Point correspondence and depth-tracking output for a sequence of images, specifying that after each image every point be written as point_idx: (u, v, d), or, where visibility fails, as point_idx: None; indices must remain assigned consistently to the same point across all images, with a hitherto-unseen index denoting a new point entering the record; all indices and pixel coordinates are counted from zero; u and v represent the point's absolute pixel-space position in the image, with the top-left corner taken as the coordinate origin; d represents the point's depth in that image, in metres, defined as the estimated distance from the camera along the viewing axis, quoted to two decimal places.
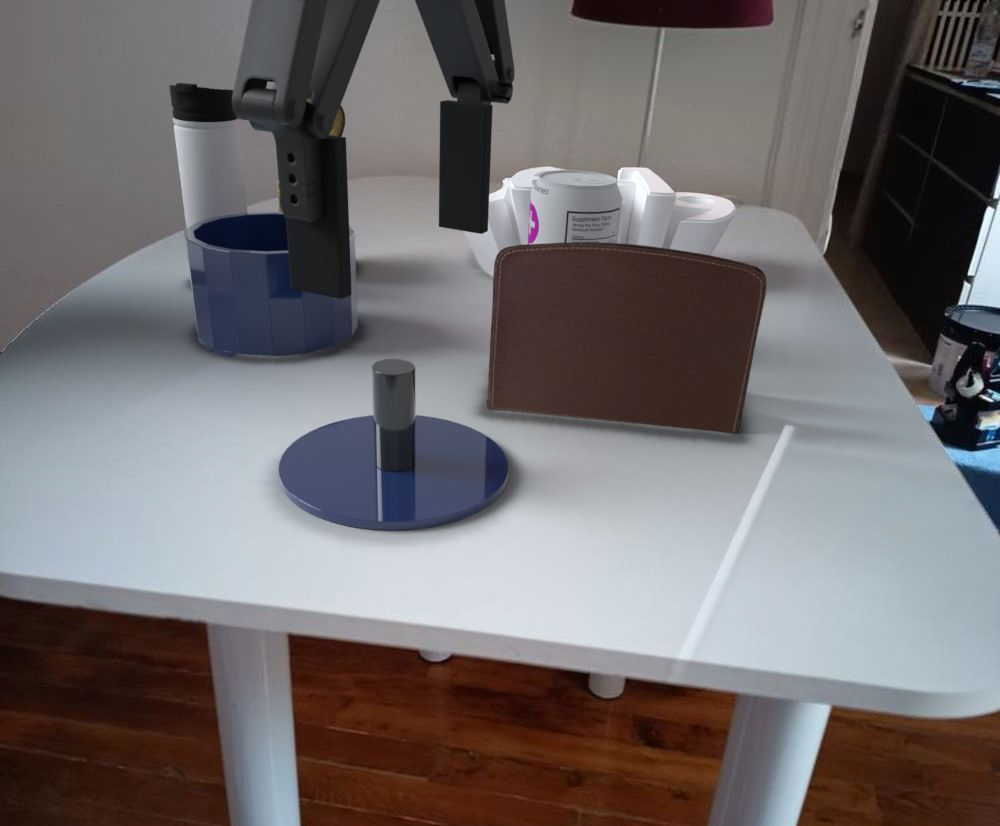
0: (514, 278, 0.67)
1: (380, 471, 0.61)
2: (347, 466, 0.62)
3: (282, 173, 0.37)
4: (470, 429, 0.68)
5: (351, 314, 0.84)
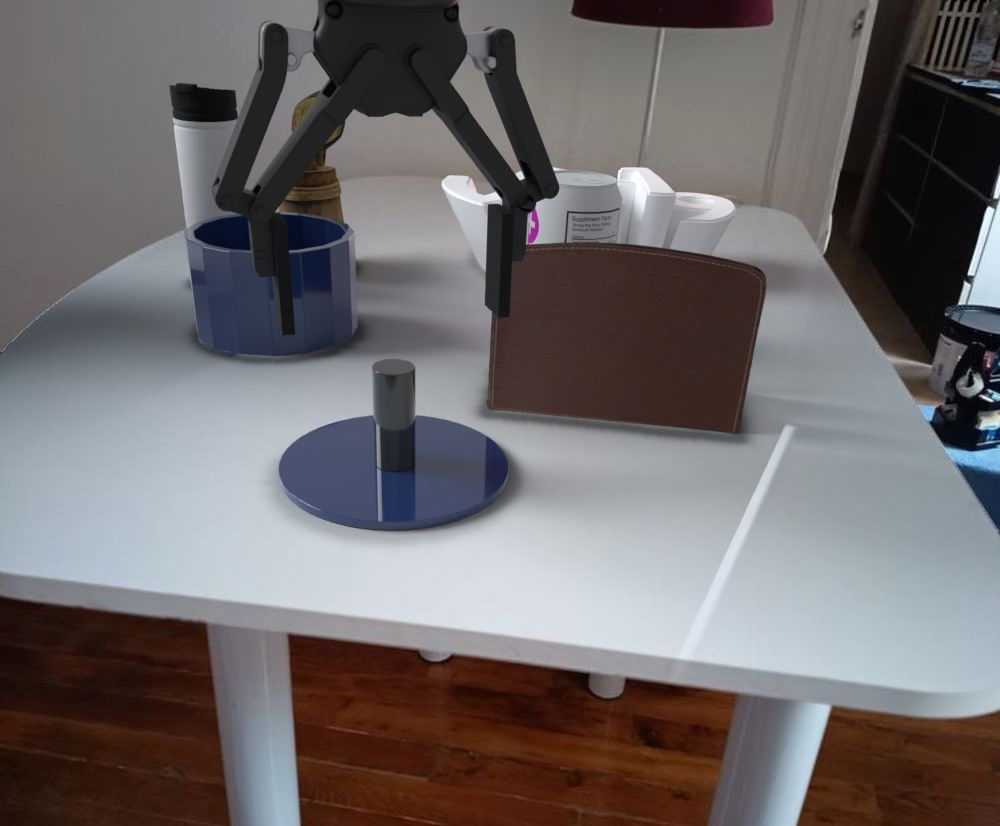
0: (514, 278, 0.67)
1: (380, 471, 0.61)
2: (347, 466, 0.62)
3: (250, 240, 0.53)
4: (470, 429, 0.68)
5: (351, 314, 0.84)
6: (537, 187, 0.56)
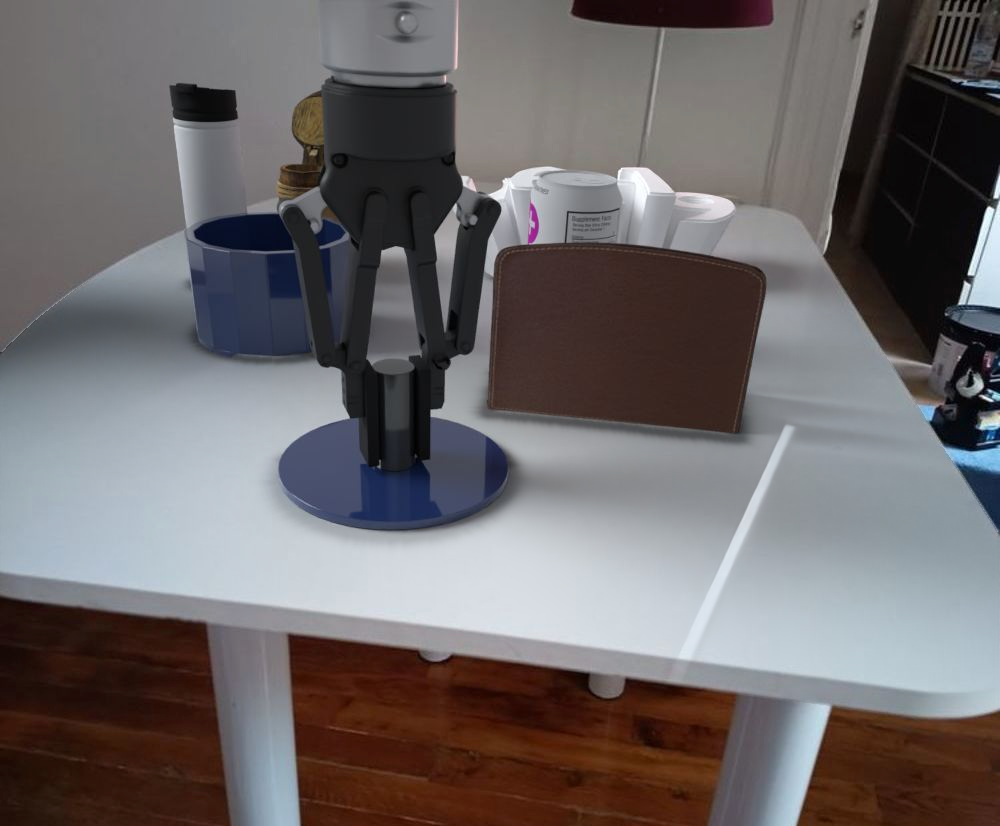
0: (514, 278, 0.67)
1: (380, 471, 0.61)
2: (347, 466, 0.62)
3: (342, 386, 0.59)
4: (470, 429, 0.68)
5: None
6: (453, 344, 0.59)
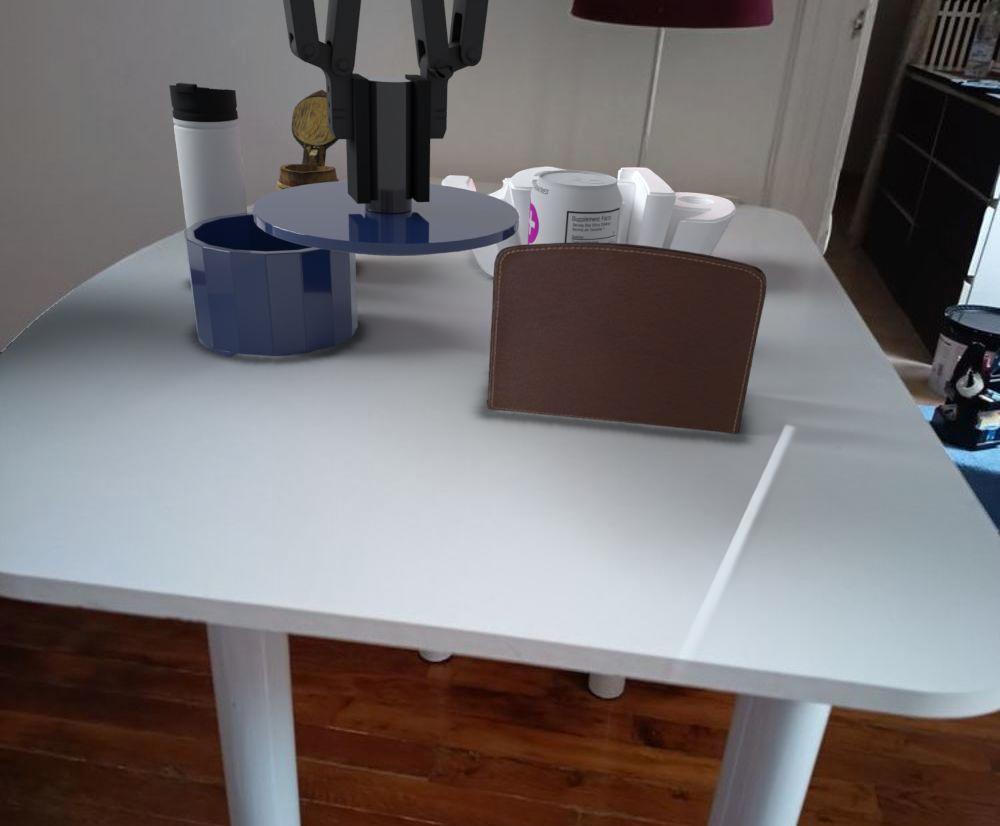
0: (514, 278, 0.67)
1: (371, 212, 0.53)
2: (333, 208, 0.53)
3: (327, 101, 0.51)
4: (475, 192, 0.59)
5: (351, 314, 0.84)
6: (457, 52, 0.50)
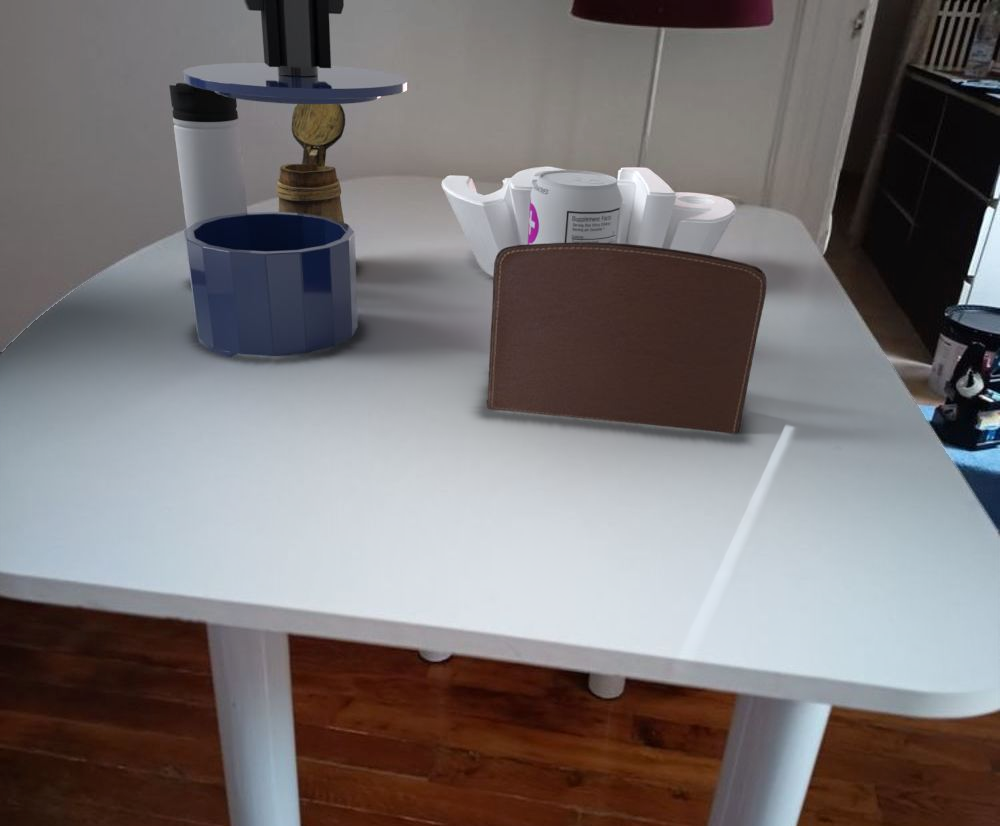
0: (514, 278, 0.67)
1: (281, 75, 0.64)
2: (250, 73, 0.64)
3: None
4: (378, 71, 0.70)
5: (351, 314, 0.84)
6: None
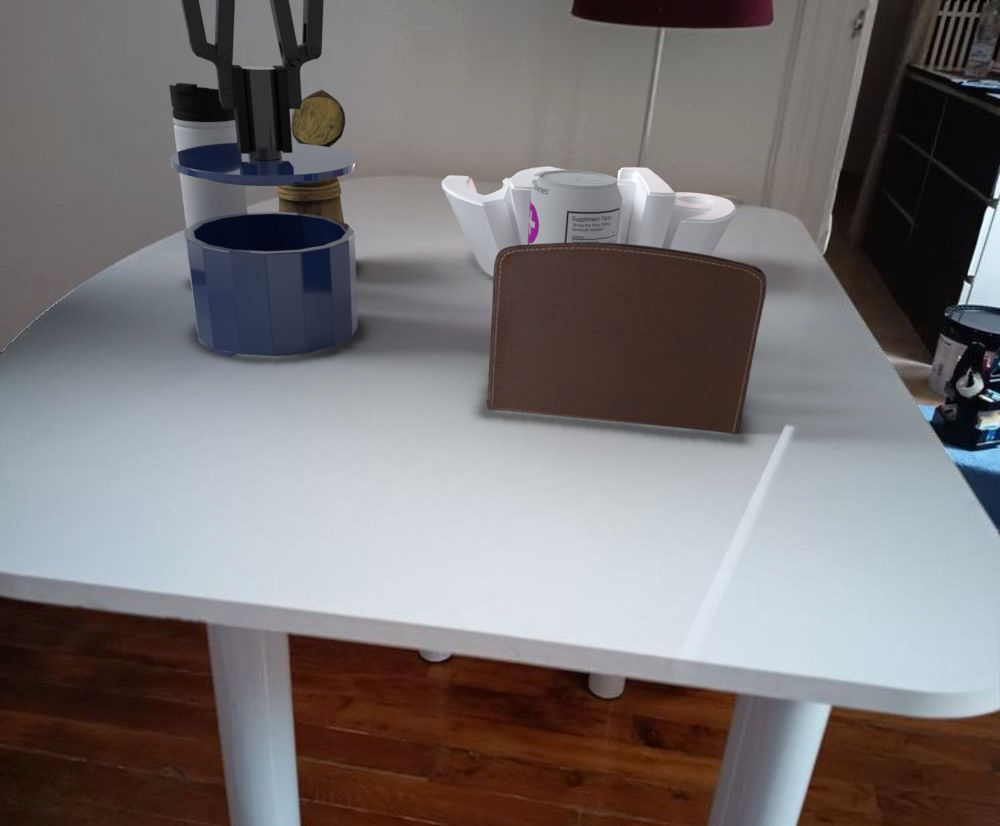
0: (514, 278, 0.67)
1: (251, 159, 0.77)
2: (226, 157, 0.78)
3: (218, 83, 0.75)
4: (334, 149, 0.83)
5: (351, 314, 0.84)
6: (304, 50, 0.75)
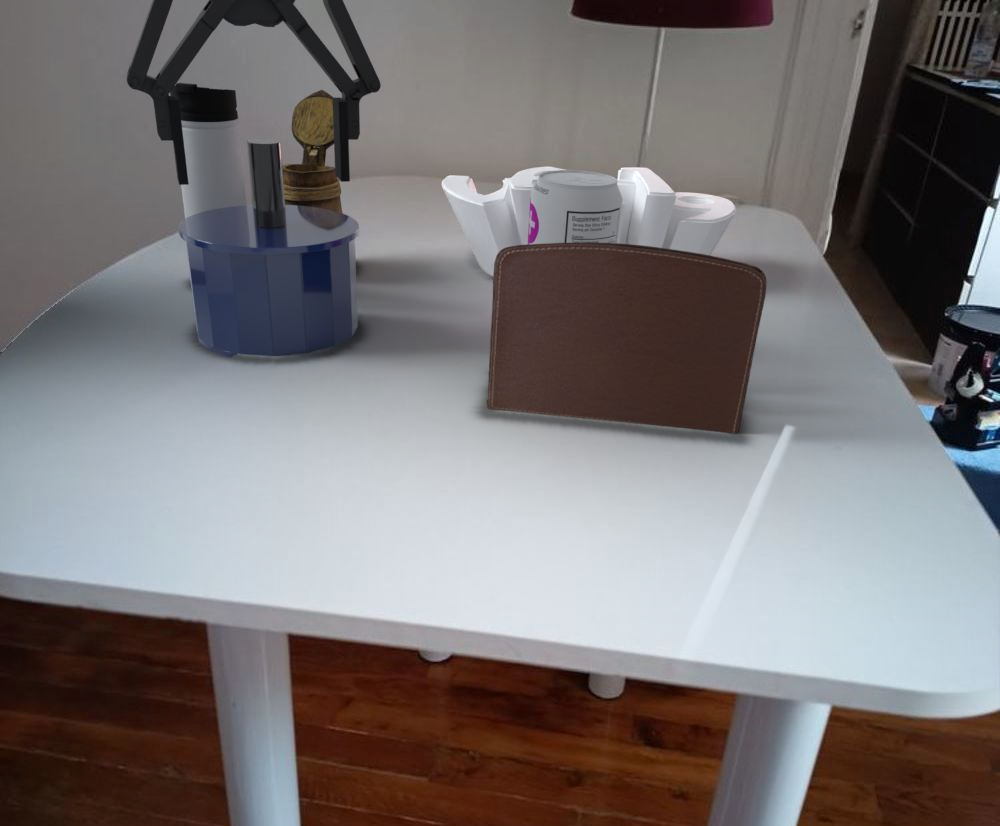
0: (514, 278, 0.67)
1: (257, 227, 0.80)
2: (232, 225, 0.81)
3: None
4: (336, 212, 0.86)
5: (351, 314, 0.84)
6: (364, 83, 0.78)
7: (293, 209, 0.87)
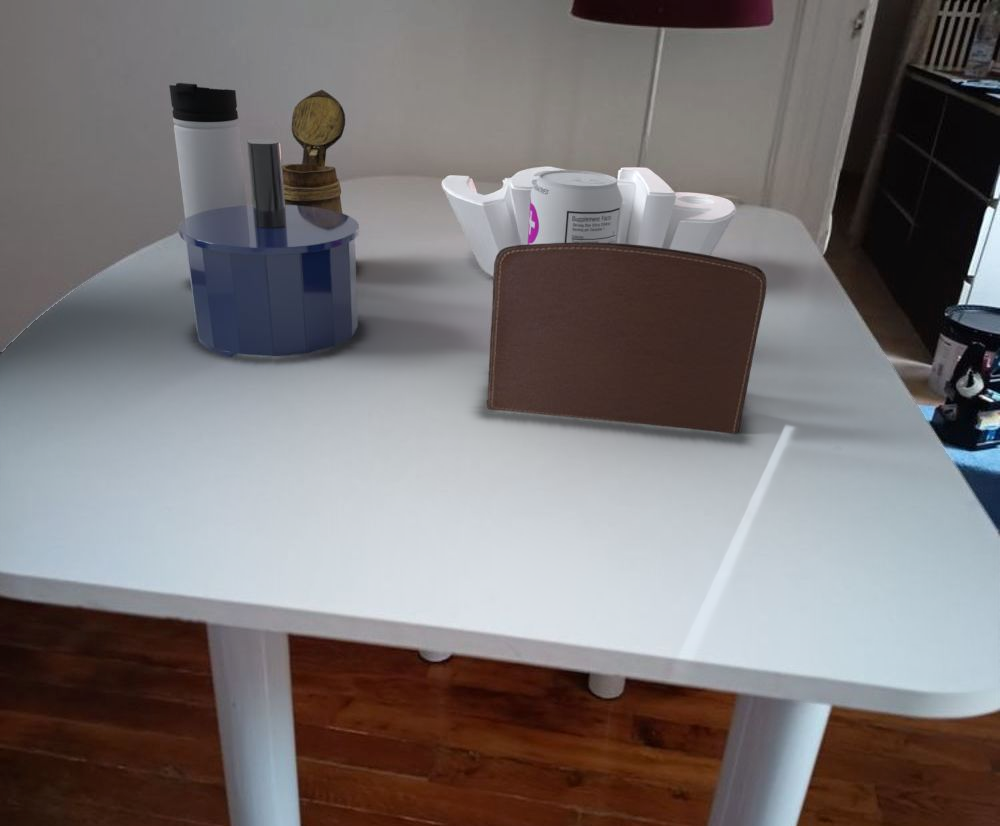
0: (514, 278, 0.67)
1: (257, 227, 0.80)
2: (232, 225, 0.81)
3: None
4: (336, 212, 0.86)
5: (351, 314, 0.84)
6: None
7: (293, 209, 0.87)
